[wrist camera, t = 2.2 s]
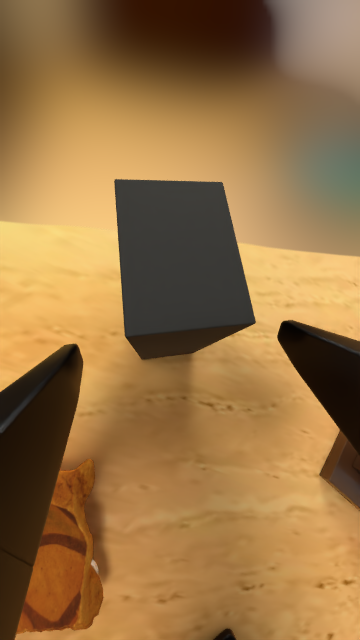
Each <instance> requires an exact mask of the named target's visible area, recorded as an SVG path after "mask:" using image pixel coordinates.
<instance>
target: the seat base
mask: <svg viewBox="0 0 360 640" xmlns="http://www.w3.org/2000/svg"><path fill="white" fill-rule="evenodd" d="M320 476H321V477H322V478H323V479H325V480H326V481H327V482H328V483H329V484H330V485H331V486H332V487H334V488H335V489H336V490H337V491H338V492H339V493H340V494H341V495H343V496H344V497H345V498H346V499H347V500H348V501H349V502H350V503H352V504H353V505H354V506H355V507H356V508H357V509H358V510H359V511H360V456H359V455H358V453H357V452H356V451H355V449H354V448H353V446H352V445H351V444H350V442H349V441H348V440H347V438H346V437H345V436H344V434H343V433H342V431H340V433H339V435H338V437H337V439H336V442H335V444H334V446H333V448H332V450H331V452H330V454H329V457H328V459H327V461H326V463H325V465H324V467H323V469H322V471H321V474H320Z"/></svg>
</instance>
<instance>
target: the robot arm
mask: <svg viewBox="0 0 360 640" xmlns="http://www.w3.org/2000/svg"><path fill="white" fill-rule="evenodd" d="M277 338H278V341H279V343H280V344H281V346H282V348H283V349H284V351H285V353H286V354H287V356H288V358H289V359H290V361H291V363H292V364H293V366H294V367H295V369H296V370H297V372H298V373H299V374H300V376H301V377H302V379H303V380H304V381H305V383H306V384H307V385H308V387H309V388H310V389H311V391H312V392H313V393H314V395H315V396H316V398H317V399H318V400H319V402H320V403H321V404H322V406H323V407H324V408H325V410H326V411H327V412H328V414H329V415H330V417H331V418H332V419H333V421H334V422H335V423H336V425H337V426H338V427H339V429H340V430H341V431H342V433H343V434H344V436H345V437H346V438H347V440H348V441H349V442H350V444H351V445H352V446H353V448H354V449H355V451H356V452H357V453H358V455H359V456H360V341H357V340H354V339H351V338H347V337H344V336H341V335H338V334H335V333H331V332H328V331H325V330H322V329H319V328H315V327H312V326H309V325H306V324H303V323H300V322H296V321H293V320H288V321H283V322H282V323H281V326H280V329H279V332H278V335H277ZM82 370H83V359H82V356H81V353H80V350H79V347H78V345H77V344H68V345H64V346H63V347H61V348H60V349H59V350H57V351H56V352H55V353H53V354H52V355H51V356H49V357H48V358H46V359H45V360H44V361H42V362H41V363H40V364H38V365H37V366H36V367H34V368H33V369H31V370H30V371H29V372H27V373H26V374H25V375H23V376H22V377H20V378H19V379H18V380H16V381H15V382H14V383H12V384H11V385H9V386H8V387H7V388H5V389H4V390H3V391H1V392H0V640H14V639H15V636H16V632H17V628H18V625H19V621H20V617H21V613H22V610H23V606H24V602H25V598H26V595H27V591H28V587H29V583H30V580H31V576H32V572H33V566H34V564H35V560H36V557H37V553H38V549H39V545H40V542H41V538H42V534H43V530H44V527H45V523H46V519H47V516H48V512H49V508H50V504H51V501H52V497H53V493H54V489H55V486H56V482H57V478H58V474H59V471H60V467H61V463H62V460H63V456H64V452H65V448H66V445H67V441H68V437H69V433H70V430H71V426H72V422H73V418H74V415H75V411H76V407H77V403H78V398H79V392H80V385H81V378H82ZM214 640H236V638H235V635H234V633H233V631H232V630H231V629H225V630H224V631H223V632H221V633H220V634H219V635H218V636H217V637H216V638H215V639H214Z"/></svg>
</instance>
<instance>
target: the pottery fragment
mask: <svg viewBox="0 0 360 640" xmlns="http://www.w3.org/2000/svg"><path fill="white" fill-rule="evenodd" d="M94 479H95V472H94V462H93V461H92V460H91V459H87V460H86V461H85V462H84V463H82V464H81V465H80V466H79V467H78V468H76V469H74V470H70V471H66V470H63V471H59V474H58V478H57V482H56V486H55V489H54V493H53V497H52V501H51V504H50V508H49V512H48V516H47V519H46V523H45V527H44V530H43V534H42V538H41V542H40V545H39V549H38V553H37V557H36V560H35V564H34V566H33V572H32V576H31V580H30V583H29V587H28V591H27V595H26V598H25V602H24V606H23V610H22V613H21V617H20V621H19V625H18V628H17V632H16V634H20V633H24V632H26V631H28V632H35V631H38V632H42V631H45V630H46V631H53V630H64V629H65V628H71V629H73V630H80V629H87V628H89V627H90V626H91V625H92V623H93V619H94V617H96V616H97V615H98V613H99V610H100V607H101V604H102V601H103V588H102V584H101V582H100V578H99V576H98V574H97V572H96V571H95V569H94V568H93V566H92V565H91V562H92V558H93V539H92V535H91V534H90V531H89V528H88V525H87V522H86V518H85V513H84V505H85V502H86V499H87V497H88V496H89V494H90V492H91V490H92V488H93V484H94Z"/></svg>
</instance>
